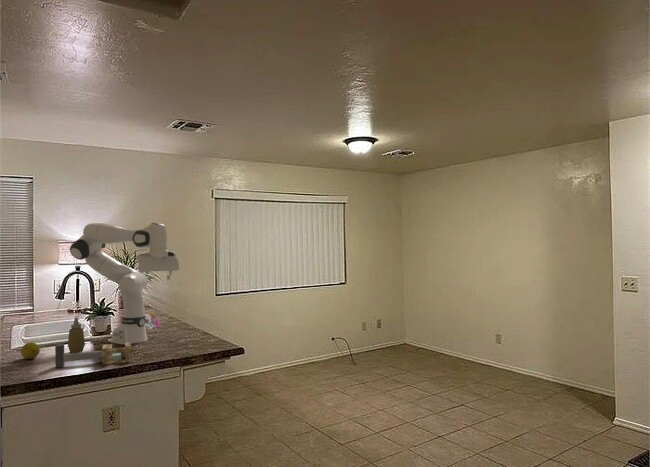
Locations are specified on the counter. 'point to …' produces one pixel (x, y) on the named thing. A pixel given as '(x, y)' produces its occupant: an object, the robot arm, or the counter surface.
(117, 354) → the spacer
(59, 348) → the grey mallet
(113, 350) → the bearing block
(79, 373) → the counter surface
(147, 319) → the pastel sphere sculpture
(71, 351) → the squeeze bottle
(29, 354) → the lemon
